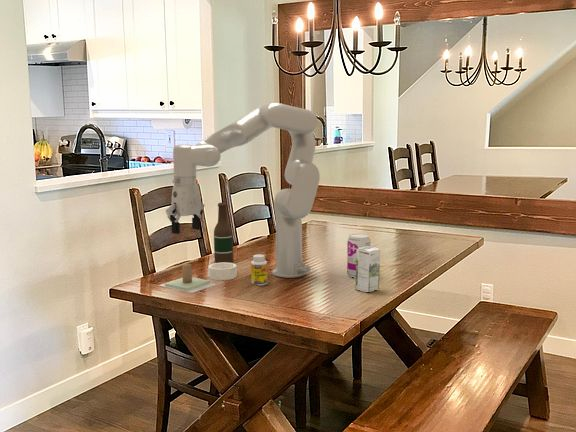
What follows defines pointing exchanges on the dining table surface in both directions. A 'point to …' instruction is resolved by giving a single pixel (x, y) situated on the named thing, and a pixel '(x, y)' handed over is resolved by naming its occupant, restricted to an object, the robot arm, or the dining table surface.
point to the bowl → (222, 271)
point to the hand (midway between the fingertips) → (186, 231)
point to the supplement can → (352, 246)
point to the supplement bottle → (259, 270)
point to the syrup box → (367, 268)
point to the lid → (187, 280)
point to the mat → (193, 289)
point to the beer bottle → (223, 237)
